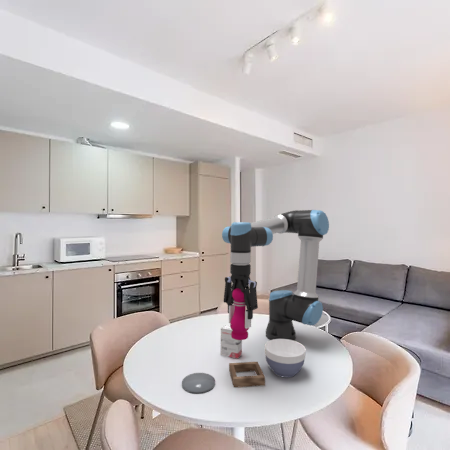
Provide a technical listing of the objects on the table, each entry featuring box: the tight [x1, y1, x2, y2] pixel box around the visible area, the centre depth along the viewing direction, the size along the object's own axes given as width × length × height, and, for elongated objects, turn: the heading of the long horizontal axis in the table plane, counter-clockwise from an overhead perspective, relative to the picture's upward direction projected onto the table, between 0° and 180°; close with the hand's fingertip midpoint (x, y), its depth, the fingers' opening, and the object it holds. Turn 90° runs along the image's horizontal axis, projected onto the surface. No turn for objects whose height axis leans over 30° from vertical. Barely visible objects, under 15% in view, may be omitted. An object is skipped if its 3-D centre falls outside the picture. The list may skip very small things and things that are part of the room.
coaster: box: [181, 372, 216, 395], centre depth 105 cm, size 12×12×1 cm
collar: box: [228, 361, 266, 388], centre depth 109 cm, size 12×12×3 cm
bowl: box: [264, 339, 307, 378], centre depth 114 cm, size 16×16×10 cm
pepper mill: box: [229, 288, 250, 341], centre depth 108 cm, size 7×7×20 cm
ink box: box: [220, 325, 243, 360], centre depth 127 cm, size 9×5×12 cm, turn 65°
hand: (239, 324), depth 108 cm, fingers closed on pepper mill, 7 cm apart
